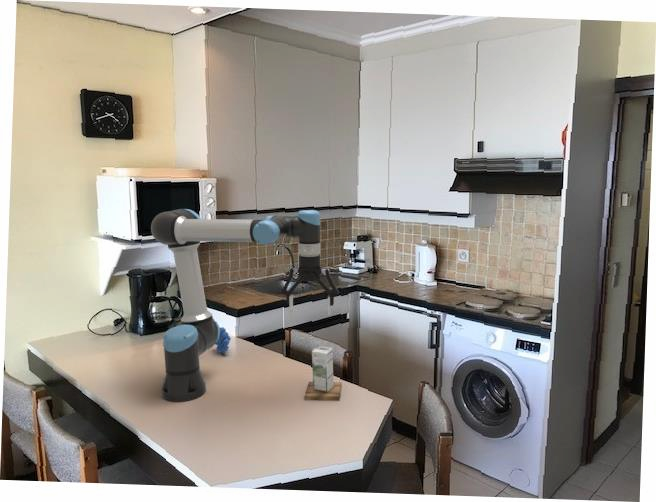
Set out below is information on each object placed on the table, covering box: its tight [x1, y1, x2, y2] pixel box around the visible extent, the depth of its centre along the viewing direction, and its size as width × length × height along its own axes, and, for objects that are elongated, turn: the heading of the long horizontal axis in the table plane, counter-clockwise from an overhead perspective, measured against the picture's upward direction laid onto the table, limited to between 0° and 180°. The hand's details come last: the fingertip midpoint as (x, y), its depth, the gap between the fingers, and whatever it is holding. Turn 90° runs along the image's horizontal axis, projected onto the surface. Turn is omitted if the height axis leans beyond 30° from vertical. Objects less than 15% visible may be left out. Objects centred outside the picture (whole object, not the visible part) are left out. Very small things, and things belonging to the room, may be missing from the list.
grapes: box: [214, 326, 231, 355], centre depth 225 cm, size 12×7×12 cm, turn 37°
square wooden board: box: [303, 381, 343, 402], centre depth 184 cm, size 12×12×2 cm
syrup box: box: [311, 345, 334, 392], centre depth 183 cm, size 6×6×14 cm
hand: (310, 313), depth 185 cm, fingers open, 13 cm apart
